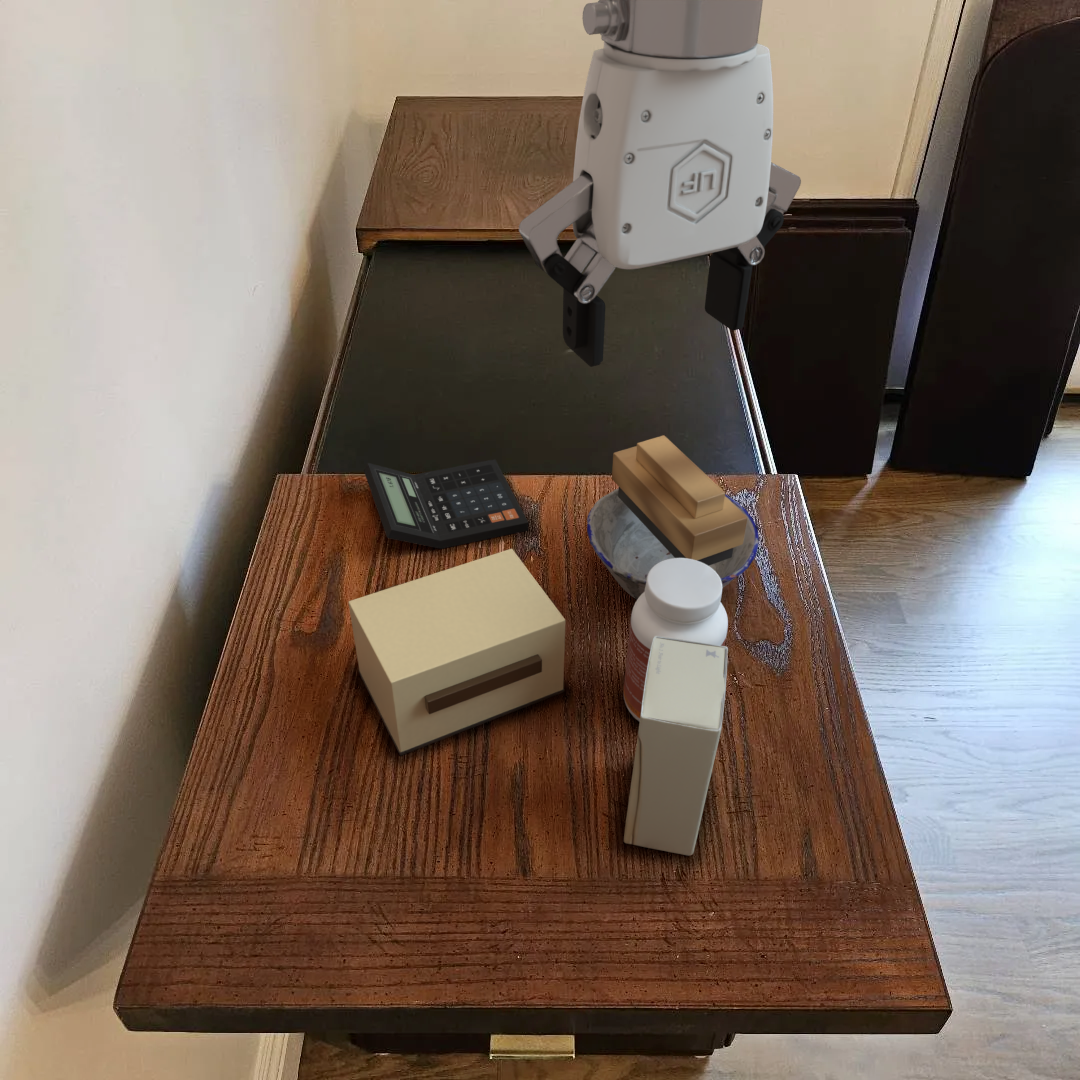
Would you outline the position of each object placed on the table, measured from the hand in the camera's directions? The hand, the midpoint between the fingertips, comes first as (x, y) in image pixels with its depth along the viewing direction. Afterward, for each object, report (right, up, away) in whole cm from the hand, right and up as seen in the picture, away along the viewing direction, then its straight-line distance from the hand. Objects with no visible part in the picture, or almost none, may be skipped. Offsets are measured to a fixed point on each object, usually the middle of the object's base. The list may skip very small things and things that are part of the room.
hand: (655, 337), depth 59 cm
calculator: (-15, -10, +25) cm, 31 cm away
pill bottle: (+2, -23, +9) cm, 25 cm away
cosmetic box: (+1, -29, +3) cm, 29 cm away
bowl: (+3, -15, +19) cm, 24 cm away
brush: (+3, -11, +16) cm, 20 cm away
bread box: (-12, -22, +10) cm, 27 cm away
